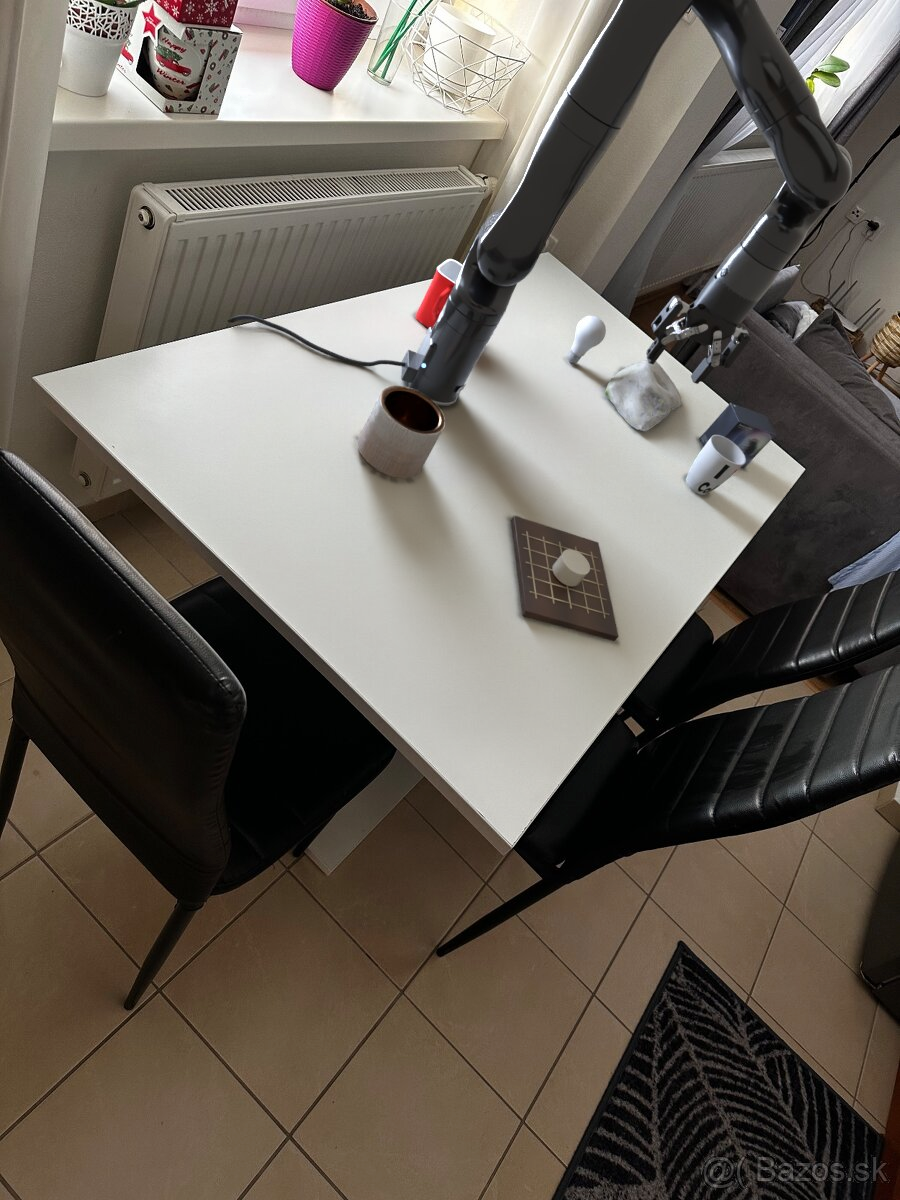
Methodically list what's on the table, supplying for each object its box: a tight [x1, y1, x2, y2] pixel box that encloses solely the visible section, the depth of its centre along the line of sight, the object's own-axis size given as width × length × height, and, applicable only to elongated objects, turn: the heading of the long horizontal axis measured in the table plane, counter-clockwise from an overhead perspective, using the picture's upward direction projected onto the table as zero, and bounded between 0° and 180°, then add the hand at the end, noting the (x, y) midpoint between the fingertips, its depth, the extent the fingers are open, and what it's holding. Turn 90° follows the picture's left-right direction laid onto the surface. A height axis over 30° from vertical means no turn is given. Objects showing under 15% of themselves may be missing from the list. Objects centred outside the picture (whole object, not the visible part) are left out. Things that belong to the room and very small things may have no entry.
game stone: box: [552, 549, 590, 586], centre depth 132 cm, size 5×5×3 cm
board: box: [510, 515, 619, 642], centre depth 133 cm, size 16×20×1 cm
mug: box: [415, 258, 463, 329], centre depth 162 cm, size 12×8×11 cm
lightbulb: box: [566, 315, 607, 364], centre depth 177 cm, size 6×6×11 cm
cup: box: [685, 435, 746, 496], centre depth 168 cm, size 8×8×10 cm
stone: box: [604, 359, 683, 432], centre depth 183 cm, size 28×7×15 cm
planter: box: [357, 385, 446, 479], centre depth 131 cm, size 11×11×10 cm
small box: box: [698, 402, 777, 470], centre depth 181 cm, size 11×6×10 cm, turn 99°
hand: (671, 370), depth 134 cm, fingers open, 8 cm apart
